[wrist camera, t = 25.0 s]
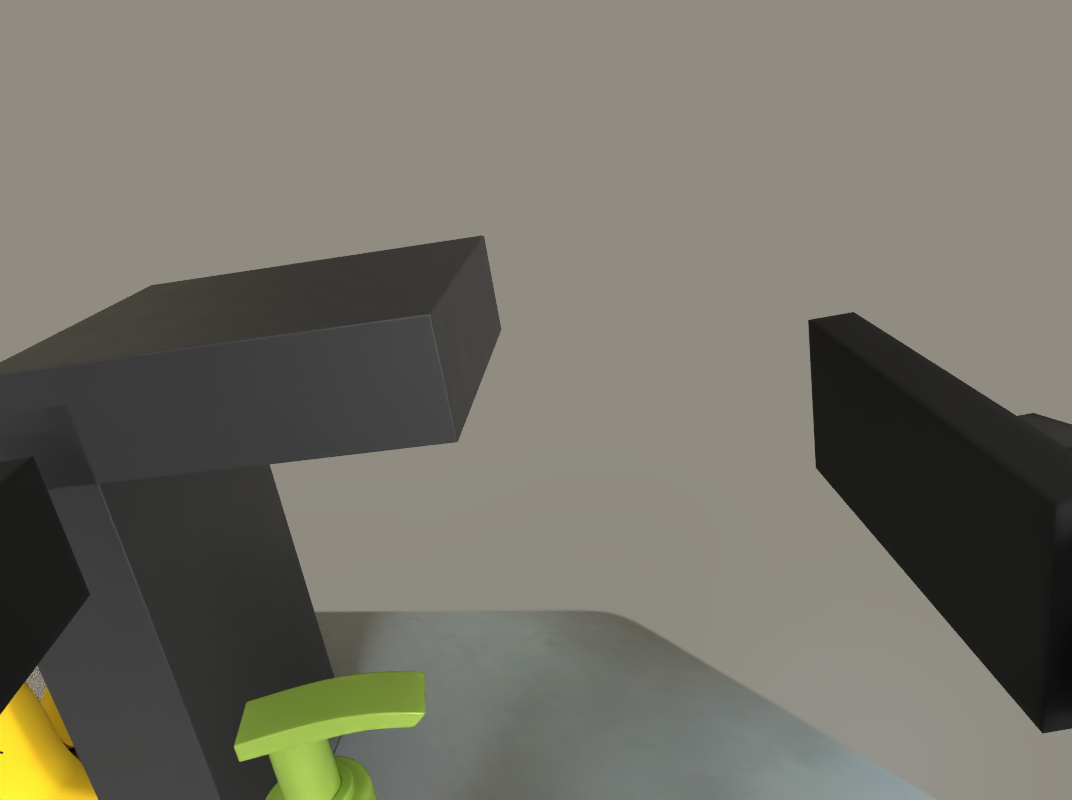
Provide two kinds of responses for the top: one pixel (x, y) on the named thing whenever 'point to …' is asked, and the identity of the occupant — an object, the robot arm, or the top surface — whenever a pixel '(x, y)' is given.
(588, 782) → the top surface
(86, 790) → the banana peel
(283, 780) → the soap dispenser
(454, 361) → the coffee maker
